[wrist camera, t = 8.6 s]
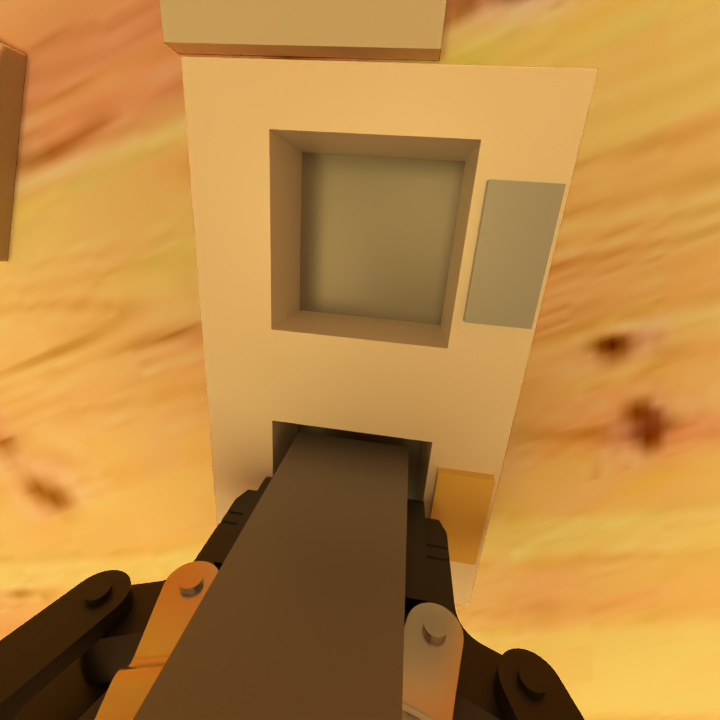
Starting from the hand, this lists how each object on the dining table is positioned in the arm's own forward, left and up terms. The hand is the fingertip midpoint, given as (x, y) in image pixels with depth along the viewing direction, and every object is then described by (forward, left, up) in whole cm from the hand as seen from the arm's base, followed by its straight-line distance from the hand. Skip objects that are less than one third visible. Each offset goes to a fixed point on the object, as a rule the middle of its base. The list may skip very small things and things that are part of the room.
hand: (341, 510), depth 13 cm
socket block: (-4, 0, -5) cm, 6 cm away
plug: (0, 0, -1) cm, 1 cm away
